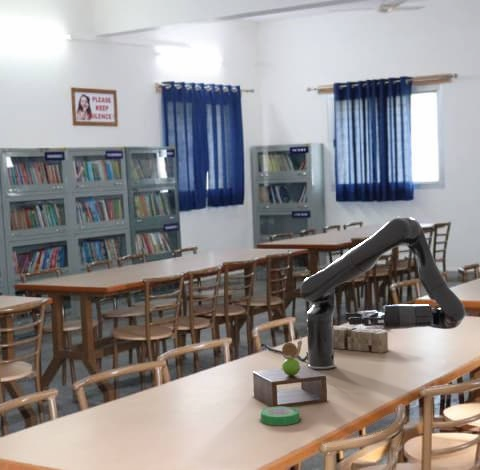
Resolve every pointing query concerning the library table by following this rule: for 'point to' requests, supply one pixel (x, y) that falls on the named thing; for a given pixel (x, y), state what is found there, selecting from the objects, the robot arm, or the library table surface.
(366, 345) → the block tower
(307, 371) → the shelf
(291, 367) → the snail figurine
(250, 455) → the library table surface
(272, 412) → the tape roll
